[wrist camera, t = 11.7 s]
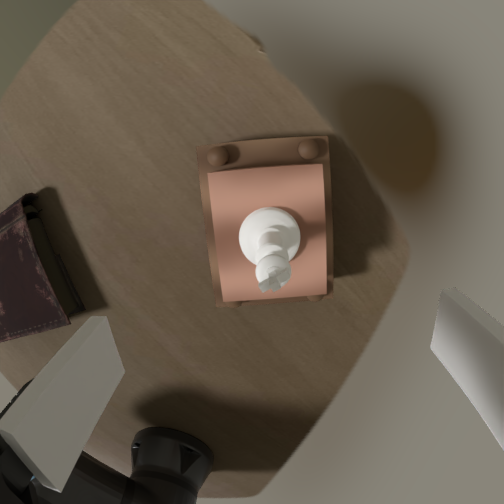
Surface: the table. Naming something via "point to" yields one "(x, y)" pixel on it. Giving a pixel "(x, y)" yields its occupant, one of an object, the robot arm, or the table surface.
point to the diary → (31, 276)
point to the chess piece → (270, 245)
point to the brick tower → (268, 195)
